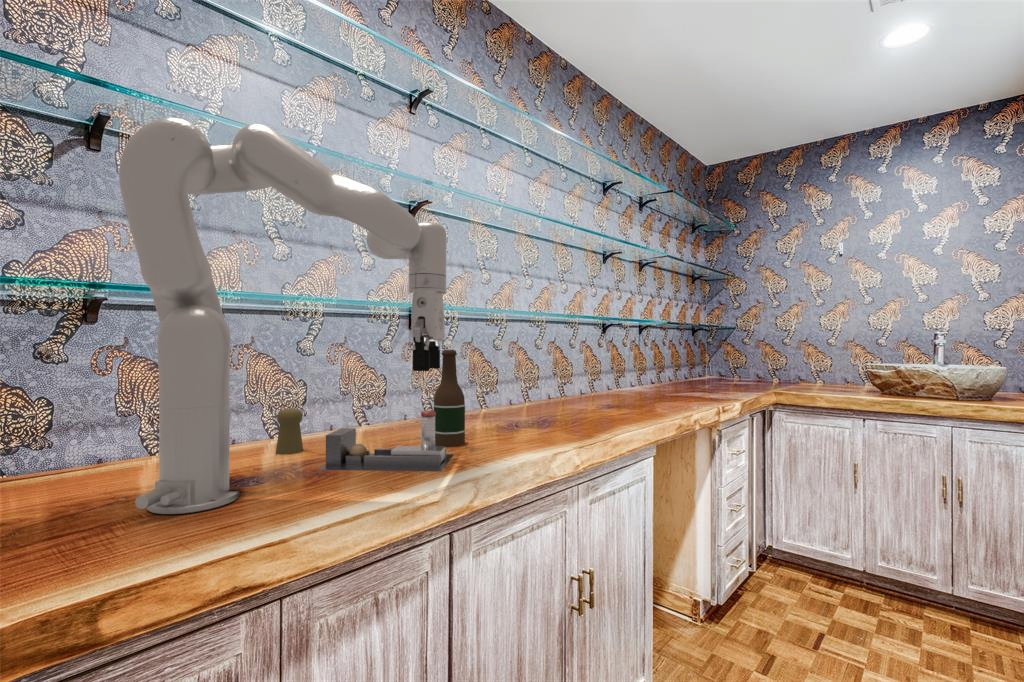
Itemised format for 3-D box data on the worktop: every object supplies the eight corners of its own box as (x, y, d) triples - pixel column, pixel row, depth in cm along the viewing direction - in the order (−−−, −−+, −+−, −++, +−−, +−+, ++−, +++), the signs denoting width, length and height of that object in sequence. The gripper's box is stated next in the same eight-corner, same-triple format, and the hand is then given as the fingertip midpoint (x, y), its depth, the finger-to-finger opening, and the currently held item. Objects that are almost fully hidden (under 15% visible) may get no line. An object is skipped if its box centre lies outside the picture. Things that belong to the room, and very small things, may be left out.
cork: (296, 461, 105) (296, 410, 105) (269, 461, 106) (269, 410, 106) (309, 455, 111) (309, 407, 112) (282, 455, 112) (283, 407, 112)
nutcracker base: (441, 479, 92) (441, 439, 92) (316, 477, 93) (316, 438, 93) (453, 461, 106) (453, 426, 106) (345, 459, 107) (345, 425, 107)
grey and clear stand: (440, 463, 96) (440, 413, 97) (390, 462, 97) (391, 412, 97) (444, 458, 101) (444, 410, 101) (397, 457, 101) (397, 409, 101)
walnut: (363, 463, 98) (363, 445, 98) (346, 463, 98) (346, 445, 98) (369, 459, 101) (369, 442, 101) (352, 459, 101) (352, 442, 101)
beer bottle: (471, 451, 116) (471, 350, 116) (441, 455, 111) (441, 350, 111) (456, 445, 122) (456, 349, 122) (427, 449, 118) (427, 349, 118)
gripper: (436, 279, 90) (436, 372, 90) (453, 290, 108) (452, 367, 107) (396, 279, 91) (396, 371, 91) (419, 290, 108) (419, 367, 108)
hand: (426, 369), depth 99 cm, fingers open, 9 cm apart
